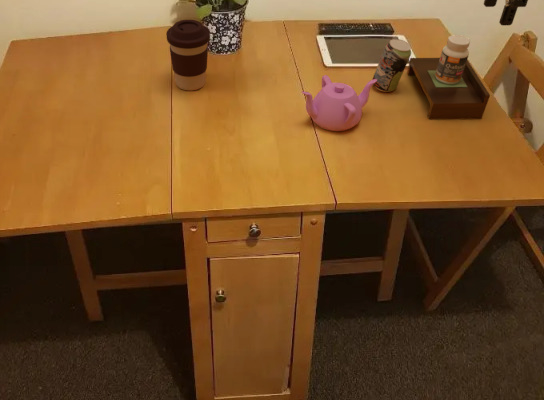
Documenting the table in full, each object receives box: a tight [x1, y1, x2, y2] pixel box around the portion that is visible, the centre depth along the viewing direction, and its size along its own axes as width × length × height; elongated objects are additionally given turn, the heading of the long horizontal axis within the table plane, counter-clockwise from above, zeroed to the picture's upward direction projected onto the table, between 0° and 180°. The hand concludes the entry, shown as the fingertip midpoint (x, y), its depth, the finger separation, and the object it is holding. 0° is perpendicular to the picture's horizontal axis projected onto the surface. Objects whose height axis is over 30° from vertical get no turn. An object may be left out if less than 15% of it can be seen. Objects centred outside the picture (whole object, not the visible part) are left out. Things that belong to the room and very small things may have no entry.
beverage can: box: [371, 38, 412, 93], centre depth 136 cm, size 6×7×12 cm
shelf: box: [406, 57, 491, 120], centre depth 136 cm, size 20×12×6 cm, turn 1°
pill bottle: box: [435, 34, 471, 84], centre depth 132 cm, size 6×6×10 cm
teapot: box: [301, 74, 377, 132], centre depth 128 cm, size 12×14×9 cm
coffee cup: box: [165, 19, 211, 91], centre depth 137 cm, size 10×10×15 cm
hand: (496, 15), depth 113 cm, fingers open, 8 cm apart
